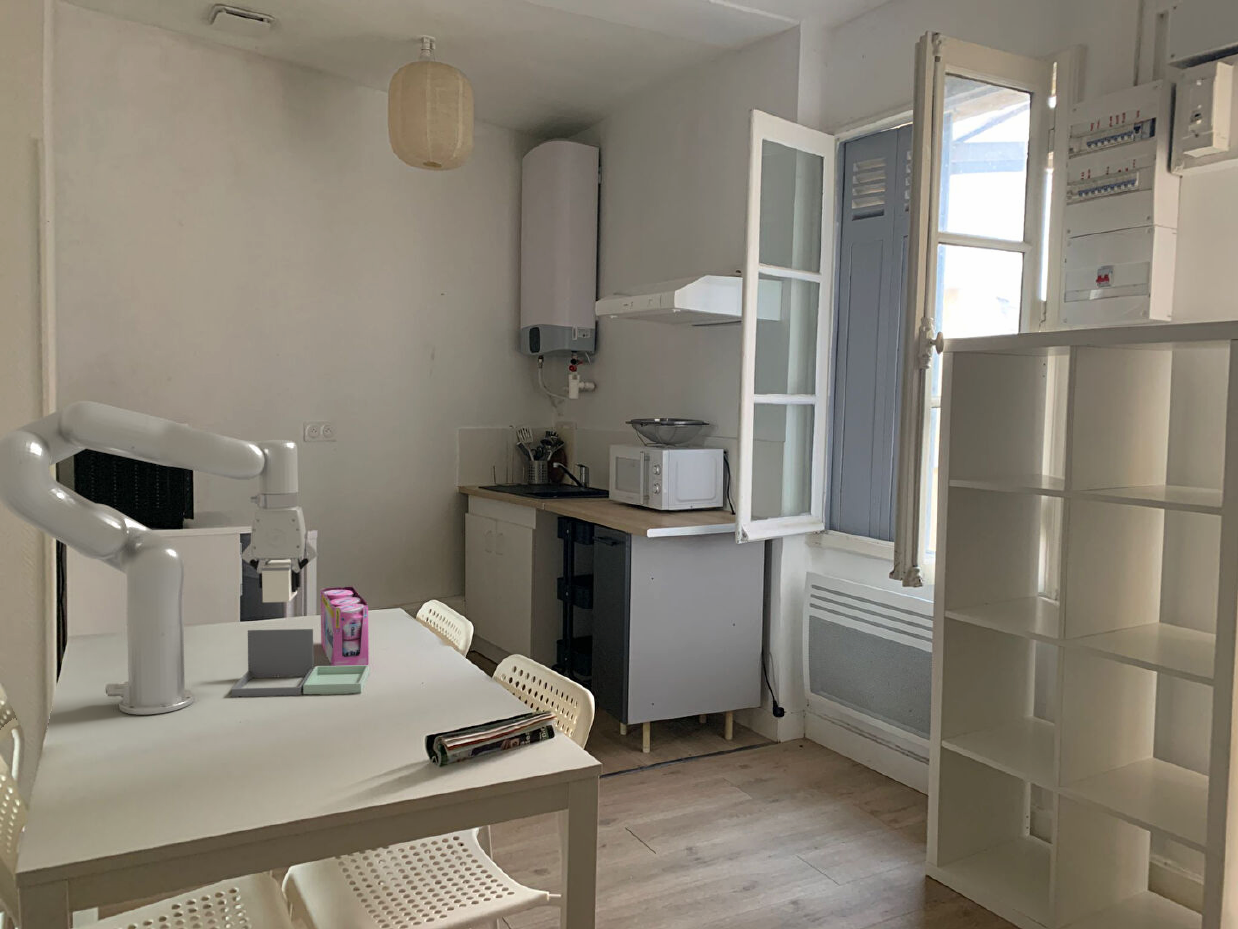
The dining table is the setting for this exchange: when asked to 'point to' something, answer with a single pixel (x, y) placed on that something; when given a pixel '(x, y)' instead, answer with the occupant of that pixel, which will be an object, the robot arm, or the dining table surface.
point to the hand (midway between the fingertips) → (280, 590)
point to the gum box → (344, 626)
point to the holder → (277, 659)
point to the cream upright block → (277, 581)
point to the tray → (336, 679)
